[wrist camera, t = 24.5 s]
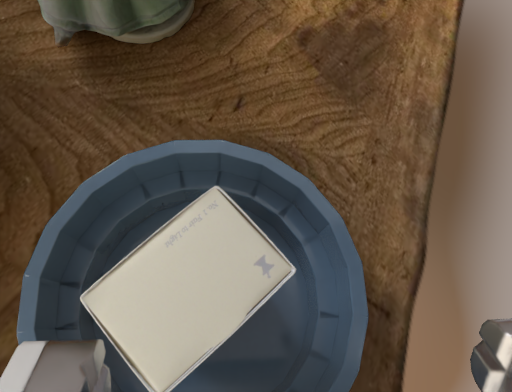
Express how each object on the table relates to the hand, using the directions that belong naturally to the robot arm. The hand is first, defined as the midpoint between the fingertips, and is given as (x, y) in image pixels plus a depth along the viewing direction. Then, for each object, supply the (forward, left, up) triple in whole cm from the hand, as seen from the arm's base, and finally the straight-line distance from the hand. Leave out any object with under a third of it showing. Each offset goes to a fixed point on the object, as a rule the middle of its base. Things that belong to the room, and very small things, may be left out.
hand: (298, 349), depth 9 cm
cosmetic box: (+3, -2, -17) cm, 18 cm away
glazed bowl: (+3, -2, -18) cm, 18 cm away
